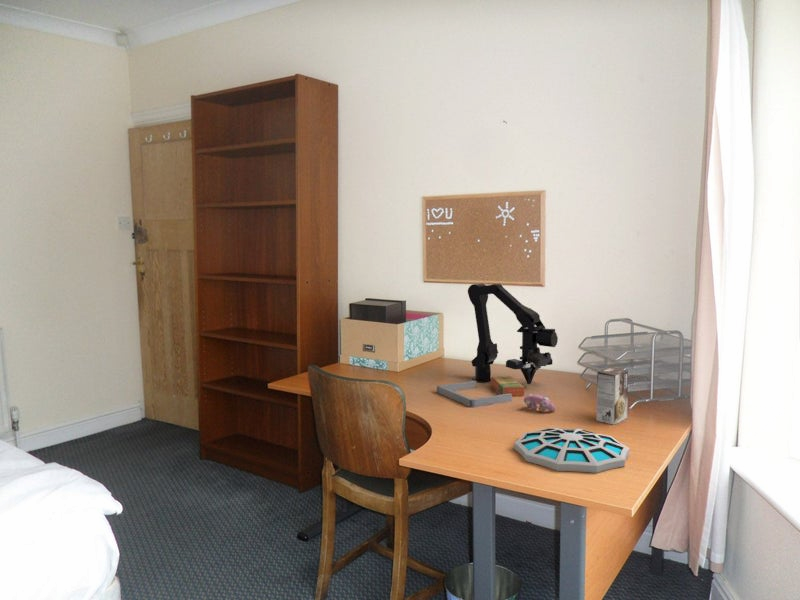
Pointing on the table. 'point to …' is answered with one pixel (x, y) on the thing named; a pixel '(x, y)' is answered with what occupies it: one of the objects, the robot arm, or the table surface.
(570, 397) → the table surface
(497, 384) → the carton
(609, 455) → the decorative platform
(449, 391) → the display frame
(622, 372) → the coffee box
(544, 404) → the video game controller
